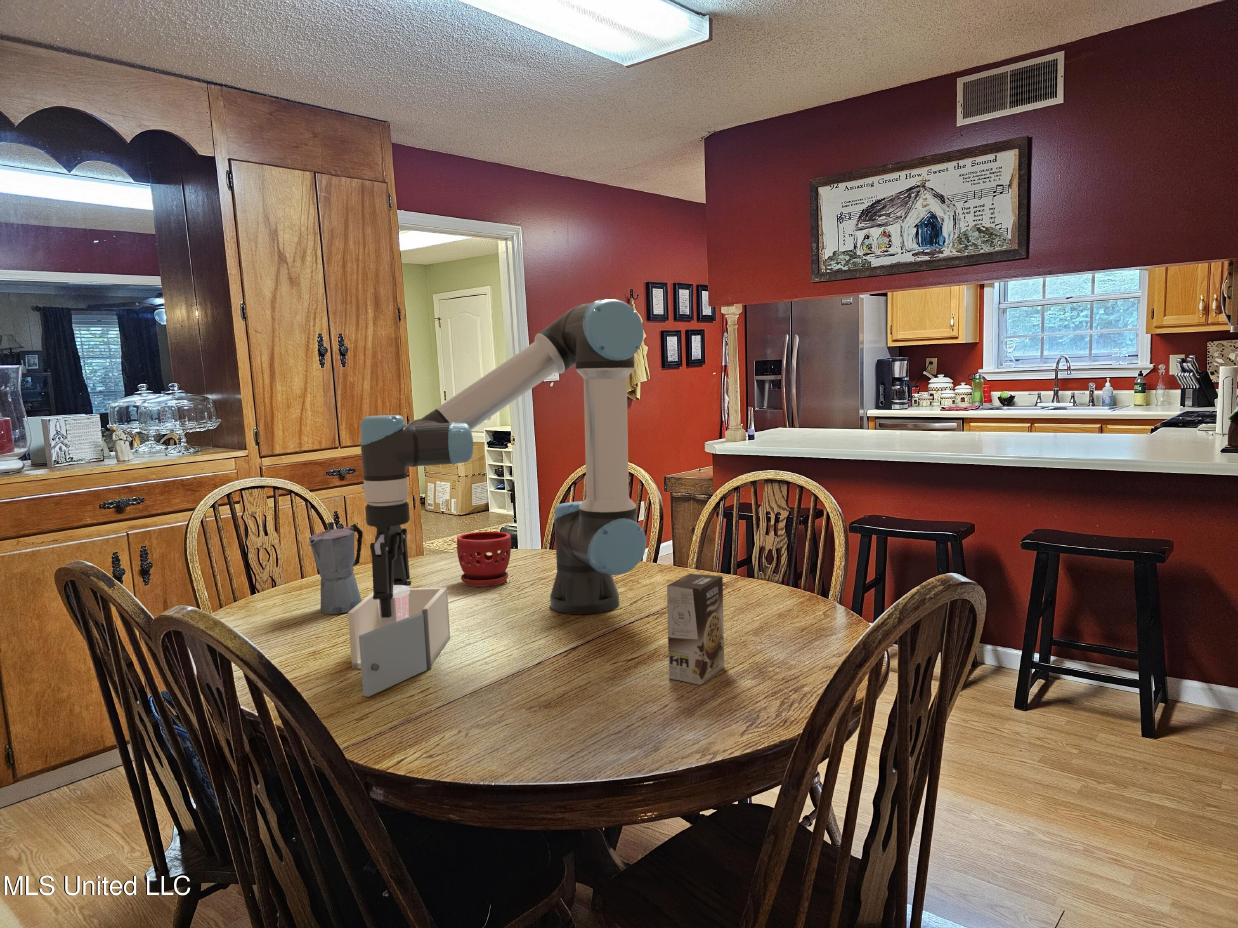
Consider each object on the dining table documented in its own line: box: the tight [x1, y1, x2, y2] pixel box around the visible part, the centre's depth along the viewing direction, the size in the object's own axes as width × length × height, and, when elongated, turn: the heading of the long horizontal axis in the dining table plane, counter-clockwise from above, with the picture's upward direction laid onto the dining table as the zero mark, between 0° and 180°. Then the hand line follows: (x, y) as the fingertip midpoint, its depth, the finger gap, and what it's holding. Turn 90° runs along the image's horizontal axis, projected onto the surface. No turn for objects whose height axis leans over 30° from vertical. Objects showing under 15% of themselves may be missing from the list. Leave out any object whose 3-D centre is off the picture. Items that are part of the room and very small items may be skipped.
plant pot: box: [456, 531, 512, 588], centre depth 198 cm, size 13×13×12 cm
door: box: [359, 613, 428, 698], centre depth 134 cm, size 13×2×10 cm, turn 148°
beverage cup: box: [377, 584, 411, 621], centre depth 145 cm, size 6×6×14 cm
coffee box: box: [666, 573, 725, 686], centre depth 134 cm, size 9×6×16 cm
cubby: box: [347, 587, 451, 671], centre depth 149 cm, size 14×16×11 cm
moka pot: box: [307, 521, 364, 615], centre depth 179 cm, size 10×15×20 cm, turn 158°
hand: (395, 627), depth 146 cm, fingers closed on beverage cup, 6 cm apart
